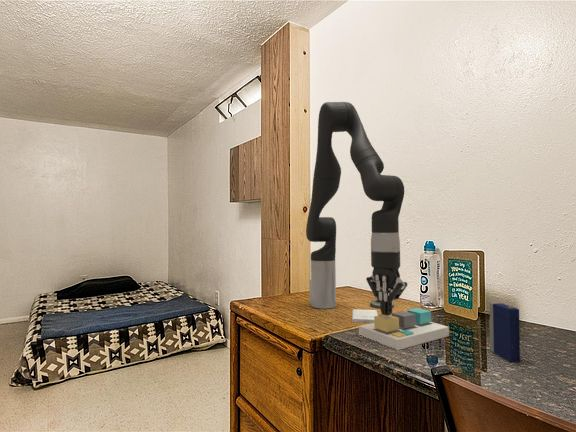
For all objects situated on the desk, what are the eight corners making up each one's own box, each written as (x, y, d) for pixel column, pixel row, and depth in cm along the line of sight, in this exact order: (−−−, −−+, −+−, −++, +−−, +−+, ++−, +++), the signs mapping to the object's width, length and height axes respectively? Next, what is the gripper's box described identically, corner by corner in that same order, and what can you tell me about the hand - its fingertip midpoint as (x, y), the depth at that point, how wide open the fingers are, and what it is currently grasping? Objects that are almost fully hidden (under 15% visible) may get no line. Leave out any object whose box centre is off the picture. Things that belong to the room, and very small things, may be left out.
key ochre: (374, 327, 97) (374, 316, 97) (386, 325, 99) (386, 314, 99) (387, 331, 93) (386, 320, 93) (399, 329, 96) (398, 317, 96)
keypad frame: (358, 335, 100) (358, 324, 100) (408, 323, 111) (407, 314, 111) (398, 350, 88) (397, 337, 88) (449, 336, 99) (448, 325, 99)
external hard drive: (376, 314, 125) (379, 324, 112) (352, 313, 126) (352, 323, 114) (376, 310, 125) (379, 319, 112) (352, 309, 126) (352, 318, 114)
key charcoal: (391, 323, 100) (391, 313, 100) (402, 321, 103) (402, 310, 103) (404, 327, 97) (404, 316, 97) (415, 325, 99) (415, 314, 99)
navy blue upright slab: (520, 362, 80) (519, 307, 80) (510, 362, 80) (509, 308, 80) (498, 350, 88) (497, 300, 88) (489, 350, 87) (488, 301, 88)
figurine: (371, 308, 130) (371, 275, 131) (369, 303, 139) (368, 272, 139) (395, 309, 130) (395, 275, 130) (391, 303, 138) (391, 272, 138)
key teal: (407, 320, 104) (407, 309, 104) (417, 318, 106) (417, 307, 106) (420, 324, 100) (420, 313, 100) (431, 321, 102) (430, 311, 102)
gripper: (357, 248, 100) (358, 311, 100) (394, 251, 89) (395, 322, 89) (377, 247, 104) (378, 308, 104) (415, 250, 93) (416, 318, 93)
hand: (386, 314), depth 96 cm, fingers closed
